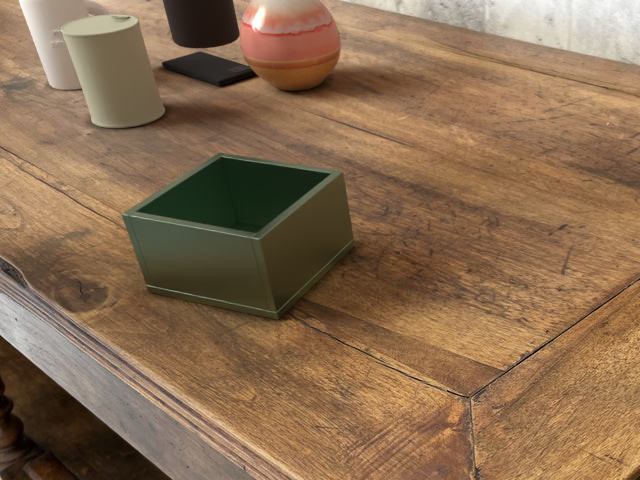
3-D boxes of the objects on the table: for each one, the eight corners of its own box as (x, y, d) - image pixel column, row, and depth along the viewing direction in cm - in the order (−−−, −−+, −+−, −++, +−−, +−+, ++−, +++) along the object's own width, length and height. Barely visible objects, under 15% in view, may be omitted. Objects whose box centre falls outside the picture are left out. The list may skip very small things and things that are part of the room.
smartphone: (159, 67, 122) (220, 86, 114) (157, 61, 121) (219, 80, 114) (200, 55, 126) (261, 73, 119) (199, 49, 126) (260, 67, 118)
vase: (365, 79, 117) (349, -57, 106) (297, 107, 108) (271, -37, 97) (299, 63, 123) (277, -67, 112) (229, 89, 114) (197, -49, 103)
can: (180, 111, 107) (153, 16, 100) (121, 133, 101) (89, 34, 94) (135, 99, 111) (107, 6, 104) (77, 120, 105) (42, 23, 98)
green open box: (148, 292, 72) (120, 214, 67) (237, 225, 82) (219, 152, 77) (278, 320, 68) (259, 239, 63) (355, 245, 78) (343, 170, 73)
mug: (144, 73, 120) (118, -14, 112) (65, 94, 113) (32, 3, 105) (117, 62, 124) (91, -22, 117) (40, 81, 117) (7, -7, 110)
